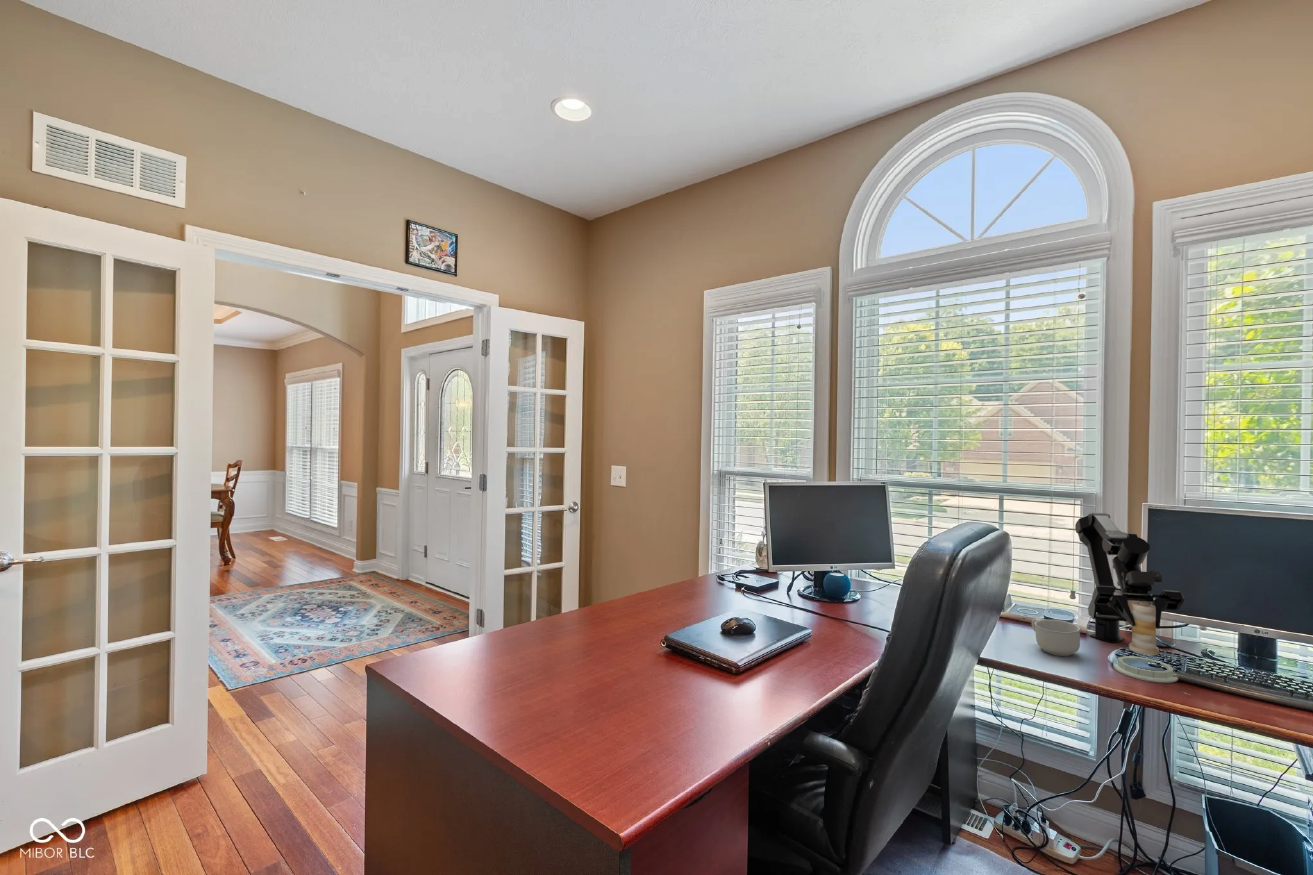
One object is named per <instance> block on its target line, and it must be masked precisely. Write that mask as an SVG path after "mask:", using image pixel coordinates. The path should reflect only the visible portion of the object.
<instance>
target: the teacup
mask: <svg viewBox="0 0 1313 875" xmlns="http://www.w3.org/2000/svg"><path fill="white" fill-rule="evenodd" d="M1031 627H1032V629H1033V631H1034V632H1035V639H1036V642H1037V645H1038V646H1039V647H1040V648H1041V649H1042V650H1043V651H1044V652H1046V653H1048V654H1050V655H1053V656H1058V657H1069V656H1072V655H1073V654H1075V653H1077V652H1078V651H1079V650H1080V646H1081V628H1080V626H1079V625H1077V624H1075V623H1073V622H1069V621H1065V620H1060V619H1041V618H1037V617H1036V618H1033V619H1032V620H1031Z"/></svg>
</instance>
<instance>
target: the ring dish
mask: <svg viewBox="0 0 1313 875" xmlns="http://www.w3.org/2000/svg"><path fill="white" fill-rule="evenodd" d="M1128 660H1144V661H1153V662H1156V663H1160V664H1161V665H1163V666H1164V667H1165V668H1166V669H1167V670H1165V671H1151V670H1145V669H1140V668H1137V667H1133V666H1130V665H1128V664H1126V663H1125V661H1128ZM1117 661H1118V664H1116V663H1115V661H1114V662H1113V669H1114V670H1115V671H1117V673H1120V674H1122V675H1125V676H1126V677H1130V678H1133V679H1135V680H1136V679H1137V680H1140V681H1146V682H1152V683H1157V684H1158V683H1161V684H1167V683H1168V684H1170V683H1171V684H1172V683H1175V682H1177V681H1179V677H1178V678H1177V677H1173V671H1174V669H1173V666H1171V665H1169V664H1168V663H1164V662H1163V661H1159V660H1155V659H1152V658H1147V657H1141V656H1132V655H1129V656H1128V655H1124V656H1119V657H1117Z"/></svg>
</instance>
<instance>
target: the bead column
mask: <svg viewBox="0 0 1313 875" xmlns="http://www.w3.org/2000/svg"><path fill="white" fill-rule="evenodd" d="M1131 613H1132V616H1133V618H1134V622H1135V626H1132V625H1131V642H1129V643H1128V648H1129V650H1130V651H1131V652H1134V653H1136V654H1139V655H1146V656H1158V655H1159V654H1160V649H1159V647H1158V646H1157V628H1156V607H1155V606H1154V605H1151V603H1150V602H1145V601H1138V602H1132V603H1131Z"/></svg>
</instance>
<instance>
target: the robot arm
mask: <svg viewBox="0 0 1313 875" xmlns="http://www.w3.org/2000/svg"><path fill="white" fill-rule="evenodd" d="M1074 528H1075V532H1076V534H1077V535H1078V539H1079V541H1080V542H1081V543H1082V544H1083V545H1084V546H1086V548H1087V552H1088V557H1089V561H1090V566H1091V571H1092V574H1093V579H1094V583H1095V588H1094V591H1093V592H1092V596H1091V599H1090V603H1089V604H1088V607H1087V610H1088V611H1087V612H1088V616H1089V617H1090V618H1092V619H1093V620H1094V621H1095V622H1094V633H1091V634H1089V636H1090V637H1091V638H1095V639H1099V640H1101V641H1105V642H1108V643H1118V642H1122V641H1126V637H1122V636H1120V622H1128V623H1129V625H1131V627H1132V626H1135V622H1134V618H1133V616H1132V610H1131V608H1130V606H1129V602H1128V601H1133V602H1139V601H1145V602H1148V603H1149V604H1150V605H1154V606H1155V607H1156V630H1157V629H1160V627H1161V619H1162V612H1165V610H1166V611H1178V610H1180V608H1181V607H1182V605H1183V603H1184V602H1185V601H1186V600H1185V596H1184V594H1183V593H1182V592H1181V591H1179V590H1171V589H1169V590H1168V589H1162V590H1161V592H1160V594H1153V593H1149V592H1152V591H1153V587H1152V586H1155V585H1159V584H1162V583H1163V577H1162V573H1161V571H1160V570H1157V569H1156V570H1154V569H1152V570H1150V571H1142V569H1141V566H1140V565H1142V564H1143V563H1144V562H1145V560H1146V557H1147V556H1148V554H1149V551H1150V549H1151V546H1150V543H1149V542H1147V540H1145V539H1143V538H1141V537H1139V536H1138V534H1137V533H1127V532H1125V531H1124V532H1123V531H1121V530H1120V529H1119V527H1118V526H1117V525H1116V524H1115V522H1114V521H1113V520H1112V519H1111V515H1110V514H1109V513H1107V512H1090V513H1088V514H1087V515H1086V516H1083V517H1080V518H1078V520H1076V523H1075V525H1074ZM1108 556H1114V557H1113V559H1112V560H1111V561H1112V569H1114V571H1115V574H1116V577H1117V582H1116V583H1117V586H1118V587H1119V588H1118V587H1117V586H1115V583H1114V579H1113V575H1112V574H1113V573H1112V570H1111V567H1110V563H1109V559H1108V558H1109V557H1108Z"/></svg>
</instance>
